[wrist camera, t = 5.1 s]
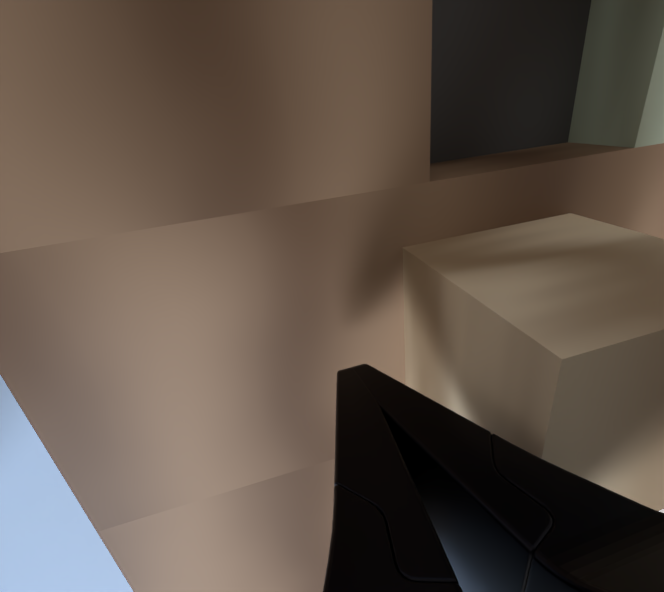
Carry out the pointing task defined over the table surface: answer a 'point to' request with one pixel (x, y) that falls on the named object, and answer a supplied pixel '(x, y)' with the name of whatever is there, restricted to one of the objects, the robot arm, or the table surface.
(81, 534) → the table surface
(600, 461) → the block
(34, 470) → the table surface
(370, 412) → the robot arm
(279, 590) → the trap deck
